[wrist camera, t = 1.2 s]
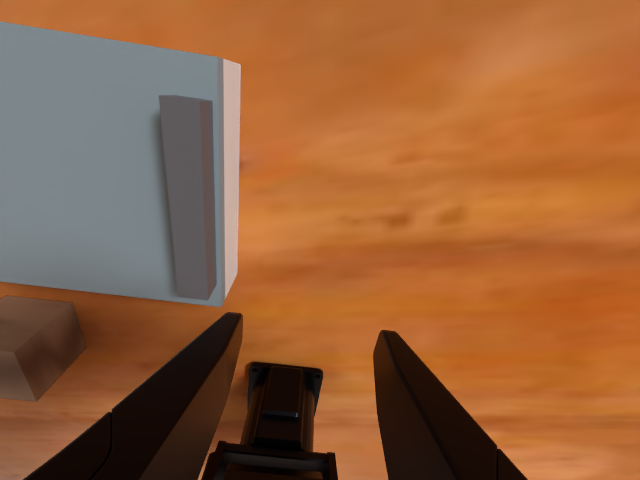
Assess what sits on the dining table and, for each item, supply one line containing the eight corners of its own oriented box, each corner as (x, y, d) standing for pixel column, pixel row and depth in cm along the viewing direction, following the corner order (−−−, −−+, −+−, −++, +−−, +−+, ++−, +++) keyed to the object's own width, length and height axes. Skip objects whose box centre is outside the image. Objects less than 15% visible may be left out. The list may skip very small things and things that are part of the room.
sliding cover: (225, 298, 19) (213, 324, 17) (-18, 270, 18) (-61, 293, 16) (223, 58, 13) (204, 52, 11) (-141, -1, 12) (-236, -20, 10)
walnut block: (86, 347, 25) (36, 401, 21) (27, 340, 25) (-37, 394, 21) (73, 302, 23) (13, 352, 19) (7, 294, 23) (-70, 343, 18)
